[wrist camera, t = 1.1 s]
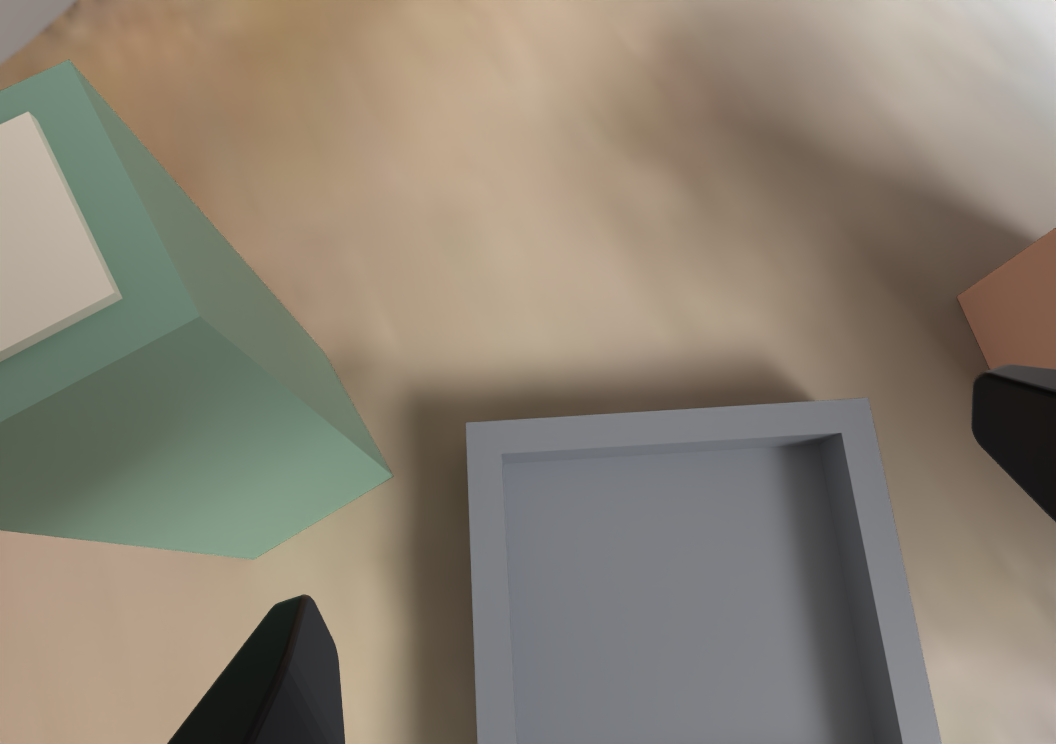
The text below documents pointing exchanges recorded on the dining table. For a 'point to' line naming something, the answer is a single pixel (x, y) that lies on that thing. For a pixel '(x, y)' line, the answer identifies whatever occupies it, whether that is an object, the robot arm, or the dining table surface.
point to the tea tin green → (149, 353)
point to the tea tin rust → (1017, 308)
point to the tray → (691, 580)
